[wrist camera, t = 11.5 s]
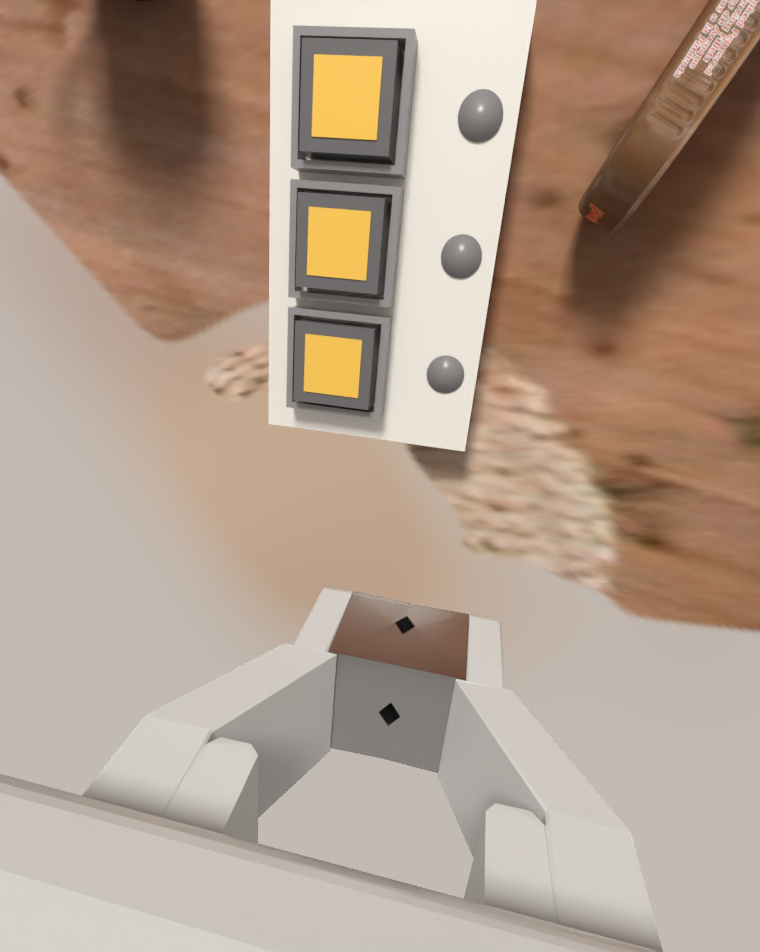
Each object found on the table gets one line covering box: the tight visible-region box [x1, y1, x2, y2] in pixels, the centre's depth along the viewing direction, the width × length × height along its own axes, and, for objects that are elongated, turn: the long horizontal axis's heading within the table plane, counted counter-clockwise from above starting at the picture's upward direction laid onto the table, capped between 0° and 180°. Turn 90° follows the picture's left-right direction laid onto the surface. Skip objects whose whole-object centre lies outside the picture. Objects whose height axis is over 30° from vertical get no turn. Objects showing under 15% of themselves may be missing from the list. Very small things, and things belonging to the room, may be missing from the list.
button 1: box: [299, 38, 403, 164], centre depth 27 cm, size 5×5×2 cm
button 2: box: [293, 319, 380, 410], centre depth 33 cm, size 5×5×2 cm
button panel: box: [269, 0, 537, 452], centre depth 31 cm, size 14×24×4 cm, turn 175°
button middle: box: [296, 192, 391, 294], centre depth 30 cm, size 5×5×2 cm
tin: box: [579, 0, 760, 236], centre depth 24 cm, size 15×3×8 cm, turn 150°
